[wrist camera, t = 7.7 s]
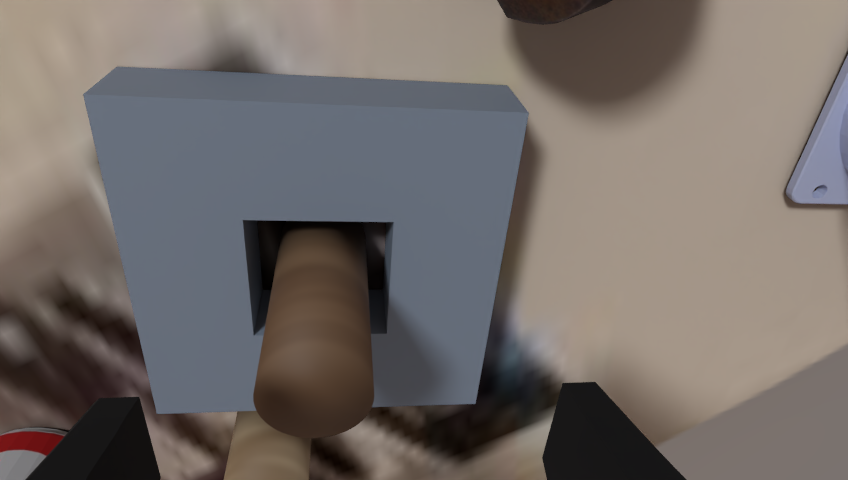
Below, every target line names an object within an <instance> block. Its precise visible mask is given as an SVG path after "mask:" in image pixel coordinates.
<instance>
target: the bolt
mask: <svg viewBox="0 0 848 480" xmlns="http://www.w3.org/2000/svg"><path fill="white" fill-rule="evenodd" d="M497 1H498V2H499V4H500V6H501V8H502V9H503V11H504V13H505V15H506V16H507V17H508V18H511V19H515V20H519V21H523V22H526V23H533V24H542V25H543V24H553V23H558V22H561V21H564V20H566V19H569V18H571V17H574V16H576V15H579V14H582V13H584V12H587V11H589V10H592V9H594V8H597V7H599V6H602V5H604V4H606V3H608V2H610V1H612V0H497Z"/></svg>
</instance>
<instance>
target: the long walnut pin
mask: <svg viewBox="0 0 848 480" xmlns="http://www.w3.org/2000/svg"><path fill="white" fill-rule="evenodd" d="M253 402H254V406H255V408H256V411H257V413H258V414H259V416H260V417H261V418H262V419H263V420H264V421H265V422H266V423H267V424H268V425H269V426H271V427H272V428H274V429H276V430H278V431H280V432H282V433H285V434H288V435H291V436H296V437H302V438H322V437H329V436H333V435H337V434H340V433H342V432H345V431H347V430H349V429H351V428H353V427H354V426H356V425H357V424H359V423H360V422H361V421H362V420H363V419H364V418H365V417H366V416H367V414H368V413H369V412H370V410H371V408H372V405H373V402H374V380H373V363H372V346H371V328H370V311H369V294H368V277H367V259H366V242H365V233H364V229H363V227H362V225H361V223H360V222H344V221H286V223H285V225H284V227H283V229H282V233H281V239H280V245H279V250H278V256H277V262H276V268H275V273H274V279H273V285H272V290H271V296H270V302H269V307H268V313H267V319H266V324H265V330H264V336H263V342H262V347H261V353H260V359H259V364H258V370H257V376H256V381H255V387H254V393H253Z"/></svg>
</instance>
